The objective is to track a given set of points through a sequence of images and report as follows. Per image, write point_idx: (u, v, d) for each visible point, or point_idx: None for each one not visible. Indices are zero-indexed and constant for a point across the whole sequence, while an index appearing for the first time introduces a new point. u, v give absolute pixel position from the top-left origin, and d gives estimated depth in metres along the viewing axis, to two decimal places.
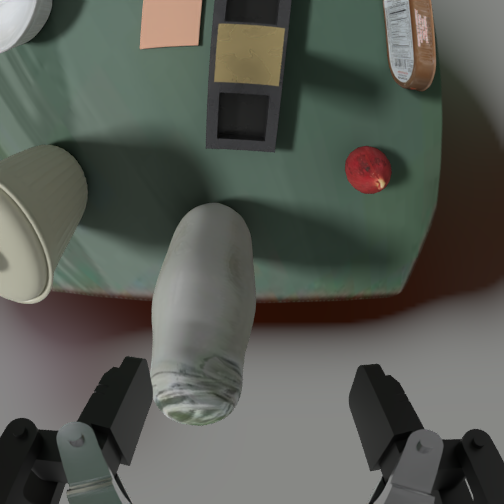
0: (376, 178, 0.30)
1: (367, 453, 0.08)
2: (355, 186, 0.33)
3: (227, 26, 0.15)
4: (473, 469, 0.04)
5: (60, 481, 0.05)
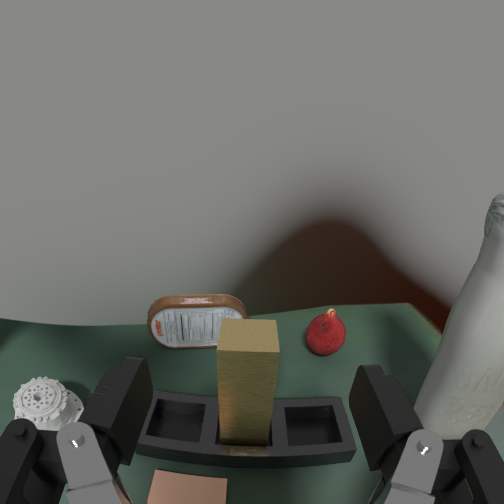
0: (328, 315, 0.39)
1: (366, 453, 0.08)
2: (343, 334, 0.38)
3: (220, 344, 0.21)
4: (473, 469, 0.04)
5: (60, 481, 0.05)
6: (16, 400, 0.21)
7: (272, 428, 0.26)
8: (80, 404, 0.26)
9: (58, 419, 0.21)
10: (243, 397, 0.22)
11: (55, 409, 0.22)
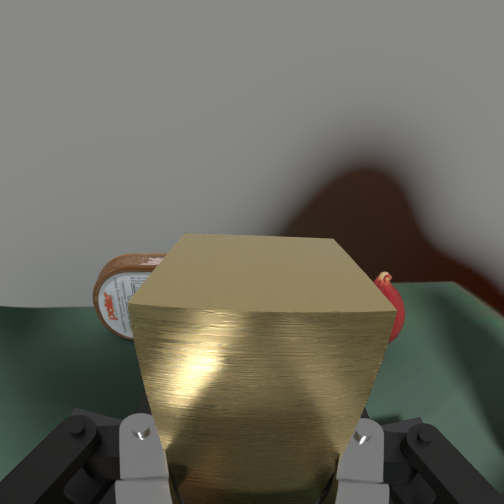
0: (381, 282, 0.23)
1: None
2: (403, 313, 0.23)
3: (150, 288, 0.05)
4: (426, 466, 0.05)
5: (115, 478, 0.06)
6: None
7: None
8: None
9: None
10: (245, 469, 0.06)
11: None
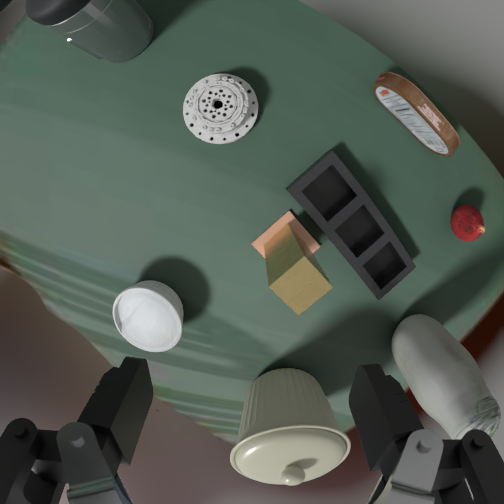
0: (478, 228, 0.33)
1: (366, 453, 0.08)
2: None
3: (275, 284, 0.28)
4: (473, 469, 0.04)
5: (60, 481, 0.05)
6: (192, 100, 0.32)
7: (369, 247, 0.39)
8: (255, 110, 0.35)
9: (228, 131, 0.34)
10: None
11: (230, 124, 0.33)
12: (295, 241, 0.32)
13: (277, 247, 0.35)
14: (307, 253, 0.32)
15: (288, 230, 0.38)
